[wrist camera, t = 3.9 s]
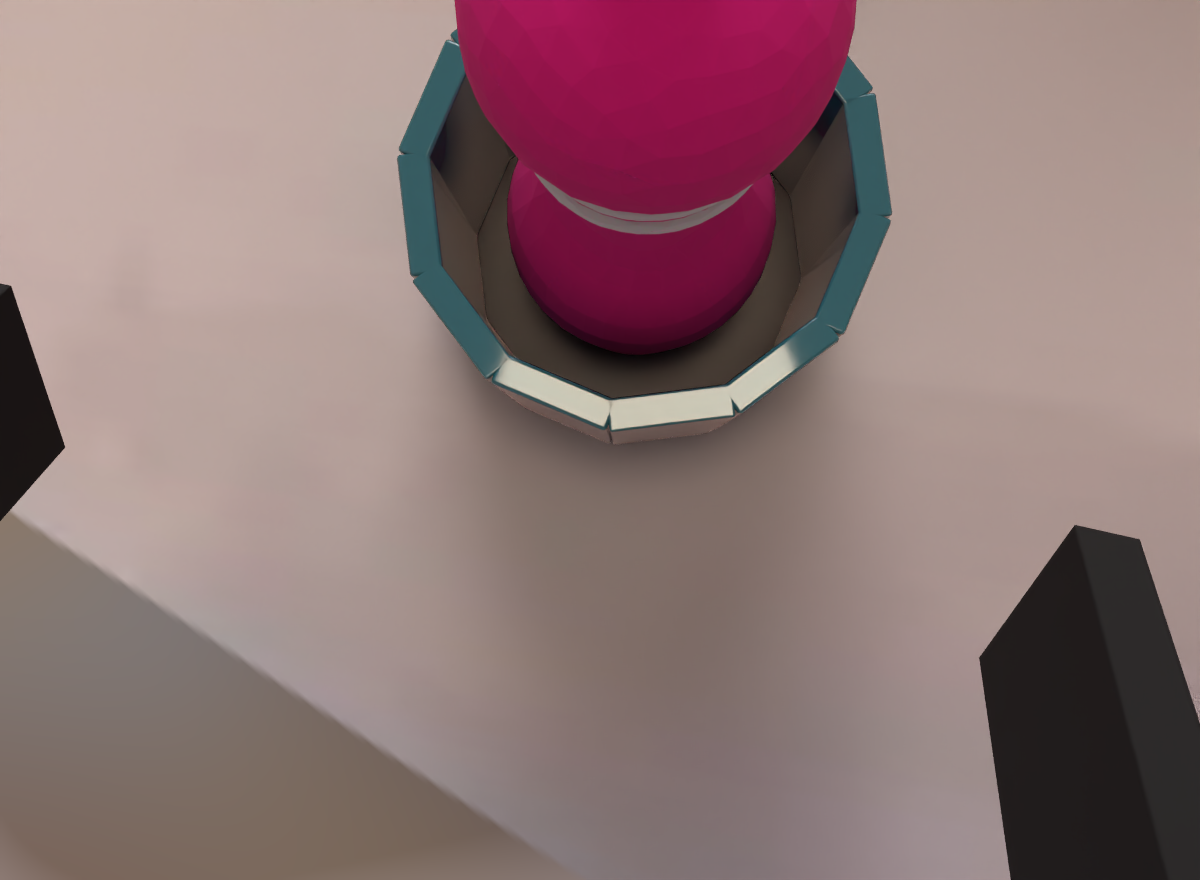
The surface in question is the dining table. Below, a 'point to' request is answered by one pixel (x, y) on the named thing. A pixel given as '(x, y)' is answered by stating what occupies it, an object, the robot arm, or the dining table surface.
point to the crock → (812, 325)
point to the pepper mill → (648, 148)
